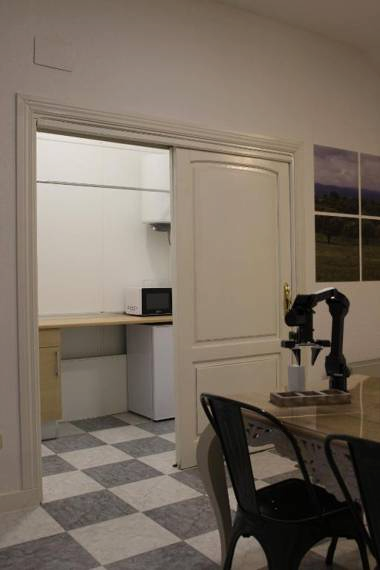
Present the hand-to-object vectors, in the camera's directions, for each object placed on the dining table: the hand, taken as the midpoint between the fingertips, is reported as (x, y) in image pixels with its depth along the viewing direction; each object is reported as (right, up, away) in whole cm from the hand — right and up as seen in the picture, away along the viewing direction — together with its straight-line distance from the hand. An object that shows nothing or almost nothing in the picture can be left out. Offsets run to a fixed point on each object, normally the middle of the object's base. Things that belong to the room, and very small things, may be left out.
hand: (305, 365), depth 226 cm
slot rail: (+1, -13, -3) cm, 14 cm away
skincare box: (-2, -14, +10) cm, 17 cm away
